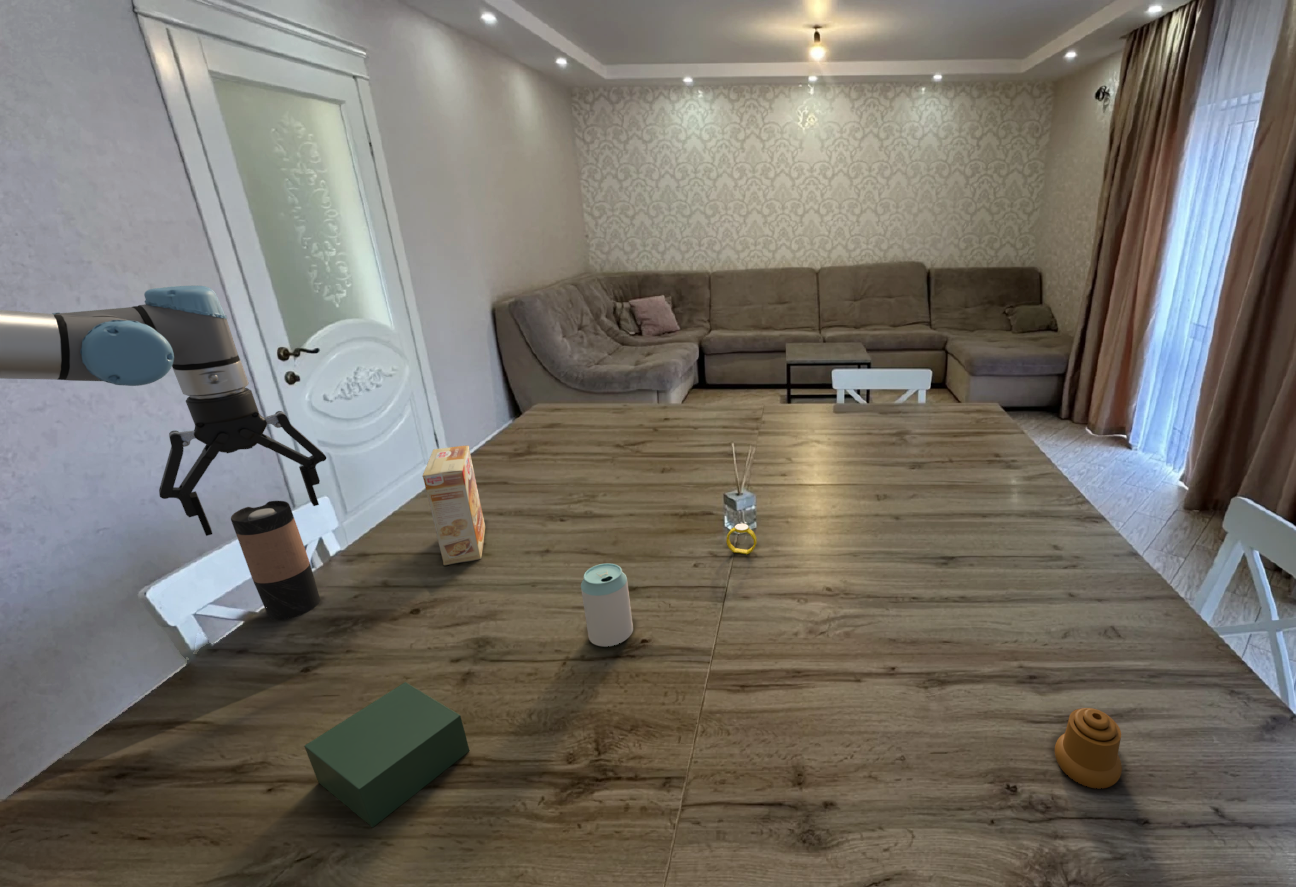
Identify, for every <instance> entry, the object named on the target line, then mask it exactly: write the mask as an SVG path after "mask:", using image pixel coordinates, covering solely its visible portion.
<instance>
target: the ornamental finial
mask: <svg viewBox="0 0 1296 887" xmlns="http://www.w3.org/2000/svg"><path fill="white" fill-rule="evenodd" d="M1068 716H1069V717H1068V720H1067V724H1066V727H1065V732H1064V733H1062V734H1061V735H1060V736H1059V737H1058V738H1057V740H1056V742H1055V745H1054V757H1055V760H1056V762H1057V765H1058V767H1059V768H1060V769H1061V770H1062V771H1063V773H1064V774H1065V775H1066V776H1067V775H1068V776H1067V777H1068V778H1069V779H1071V780H1072V779H1073V780H1072V781H1074V782H1075V783H1077V782H1078V783H1077V784H1079V785H1081V784H1082V786H1084V787H1086V786H1087V788H1090V789H1096V788H1097V789H1096V790H1098V789H1100V790H1101V788H1102V789H1107V788H1110V787H1112V786H1114V785H1115V784H1116V783H1117V782H1118V781H1119V780H1120V779H1121V777H1122V772H1123V765H1122V760H1121V758H1120V756H1119V750H1120V744H1121V738H1122V731H1121V728H1120V727H1119V724H1117V722H1116V721H1115V720H1114V719H1113V718H1112V717H1111V716H1109V715H1108V714H1107V713H1105V712H1104V711H1102V710H1099V709H1097V708H1092V707H1082V708H1081V707H1080V708H1077V709H1073V711H1072V712H1070V714H1069V715H1068Z"/></svg>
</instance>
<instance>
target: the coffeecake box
mask: <svg viewBox="0 0 1296 887" xmlns="http://www.w3.org/2000/svg"><path fill="white" fill-rule="evenodd" d="M421 477H422V479H423V482H424V487H425V492H426V496H427V500H428V505H429V508H430V512H431V517H432V521H433V525H434V530H435V534H436V539H437V543H438V546H439V550H440V554H441V559H442V565H443V566H448V565H454V564H459V563H466V562H472V561H477V560H482V558H483V557H482V556H483V549H484V542H485V533H486V523H485V519H484V513H483V509H482V504H481V500H480V494H479V491H478V485H477V480H476V474H475V469H474V466H473V461H472V455H471V451H470V445H459V446H458V445H457V446H451V447H441V448H434V449H432V452H431V453H430V456H429V459H428V460H427V464H426V465H425V469H424V470H423V473H422V476H421Z"/></svg>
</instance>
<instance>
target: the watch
mask: <svg viewBox="0 0 1296 887" xmlns="http://www.w3.org/2000/svg"><path fill="white" fill-rule="evenodd" d="M732 533H738V534H745V533H746V534H748V535H750V537H751V539H752V540H753V545H752V546H751V547H750V548H748V549H744V548H737V547H735V546H734V545H733V543H732V542H731V540H730V538H731V535H732ZM757 541H758V538H757V535H756V533H755V532H754V530H752V529H751V528H750V527H749V525H748V524H746V523H737V524H735V525H734V527H732V528H731V529H730V530H729V531H728V533H727V534H726V540H725V542H726V545H727V548H728V549H729V550H730V551H731V552H732V553H734V554H743V555H749V554H751V553H752V552H754V550H755V548H756V547H757V546H756V545H757Z"/></svg>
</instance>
